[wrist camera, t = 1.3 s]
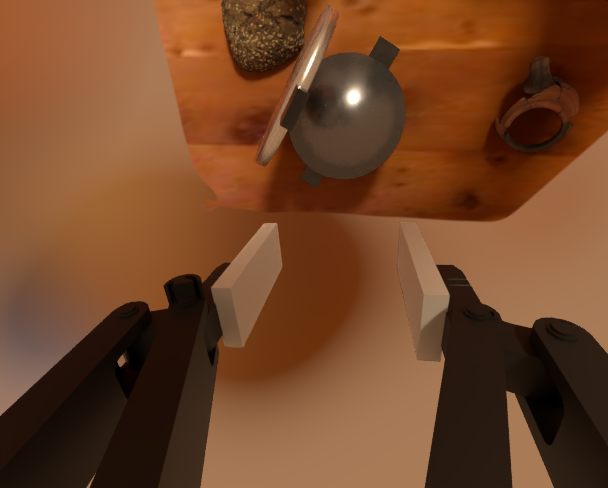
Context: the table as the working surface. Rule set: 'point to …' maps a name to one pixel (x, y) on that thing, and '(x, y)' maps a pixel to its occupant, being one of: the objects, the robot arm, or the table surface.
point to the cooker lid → (297, 86)
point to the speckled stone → (263, 31)
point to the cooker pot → (350, 115)
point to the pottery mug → (541, 104)
